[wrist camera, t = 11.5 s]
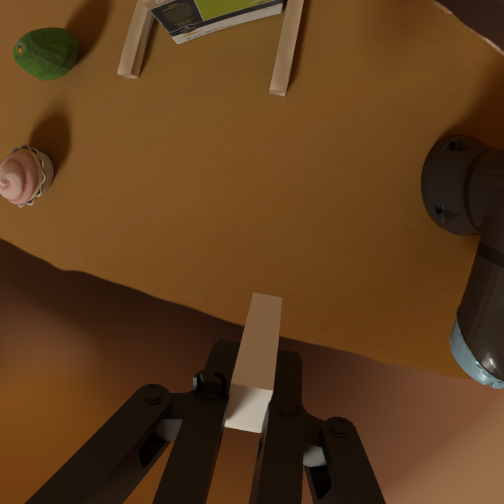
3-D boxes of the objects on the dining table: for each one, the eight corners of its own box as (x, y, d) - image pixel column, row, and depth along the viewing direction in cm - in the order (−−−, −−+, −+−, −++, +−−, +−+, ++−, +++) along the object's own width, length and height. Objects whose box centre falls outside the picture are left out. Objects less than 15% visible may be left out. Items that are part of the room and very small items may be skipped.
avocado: (41, 67, 36) (-7, 54, 25) (72, 29, 34) (30, 6, 23) (65, 94, 38) (16, 83, 26) (98, 54, 36) (56, 31, 25)
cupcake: (30, 211, 43) (-9, 225, 33) (14, 159, 40) (-26, 165, 31) (70, 188, 42) (31, 198, 32) (53, 133, 40) (12, 132, 30)
